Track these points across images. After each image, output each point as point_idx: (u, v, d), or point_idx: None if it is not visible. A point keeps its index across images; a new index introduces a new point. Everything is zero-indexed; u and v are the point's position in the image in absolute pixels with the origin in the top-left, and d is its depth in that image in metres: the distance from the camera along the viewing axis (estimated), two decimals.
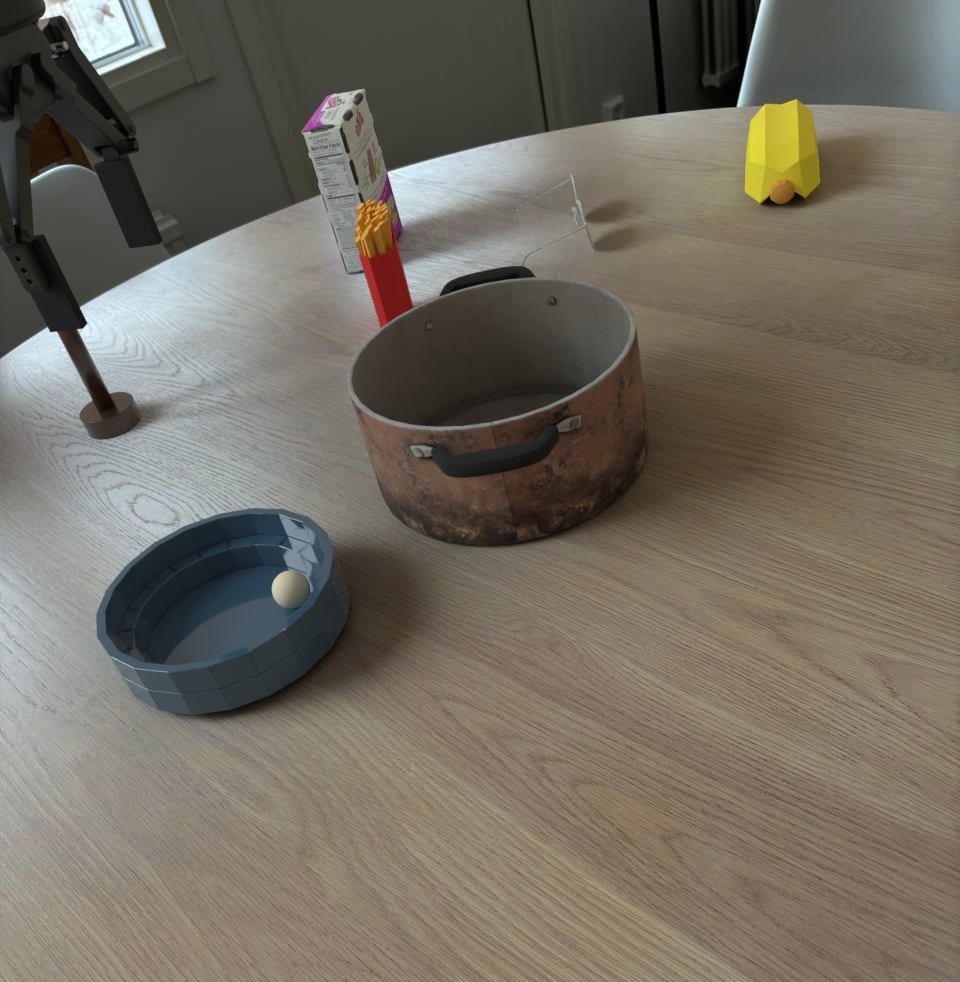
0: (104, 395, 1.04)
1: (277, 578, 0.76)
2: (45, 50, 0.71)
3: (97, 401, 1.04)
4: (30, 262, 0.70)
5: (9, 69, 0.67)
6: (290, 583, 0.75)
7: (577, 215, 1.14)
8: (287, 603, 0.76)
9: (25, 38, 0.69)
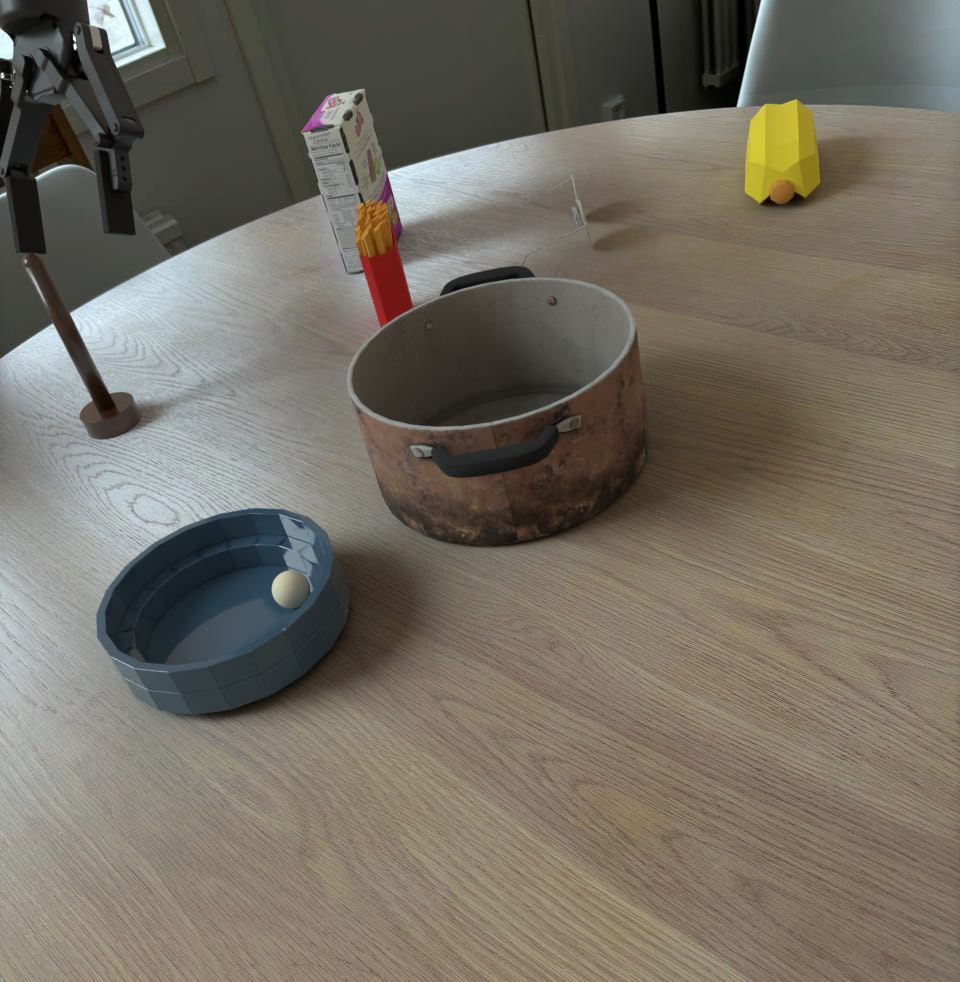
0: (104, 395, 1.04)
1: (277, 578, 0.76)
2: None
3: (97, 401, 1.04)
4: (129, 164, 0.89)
5: None
6: (290, 583, 0.75)
7: (577, 215, 1.14)
8: (287, 603, 0.76)
9: None
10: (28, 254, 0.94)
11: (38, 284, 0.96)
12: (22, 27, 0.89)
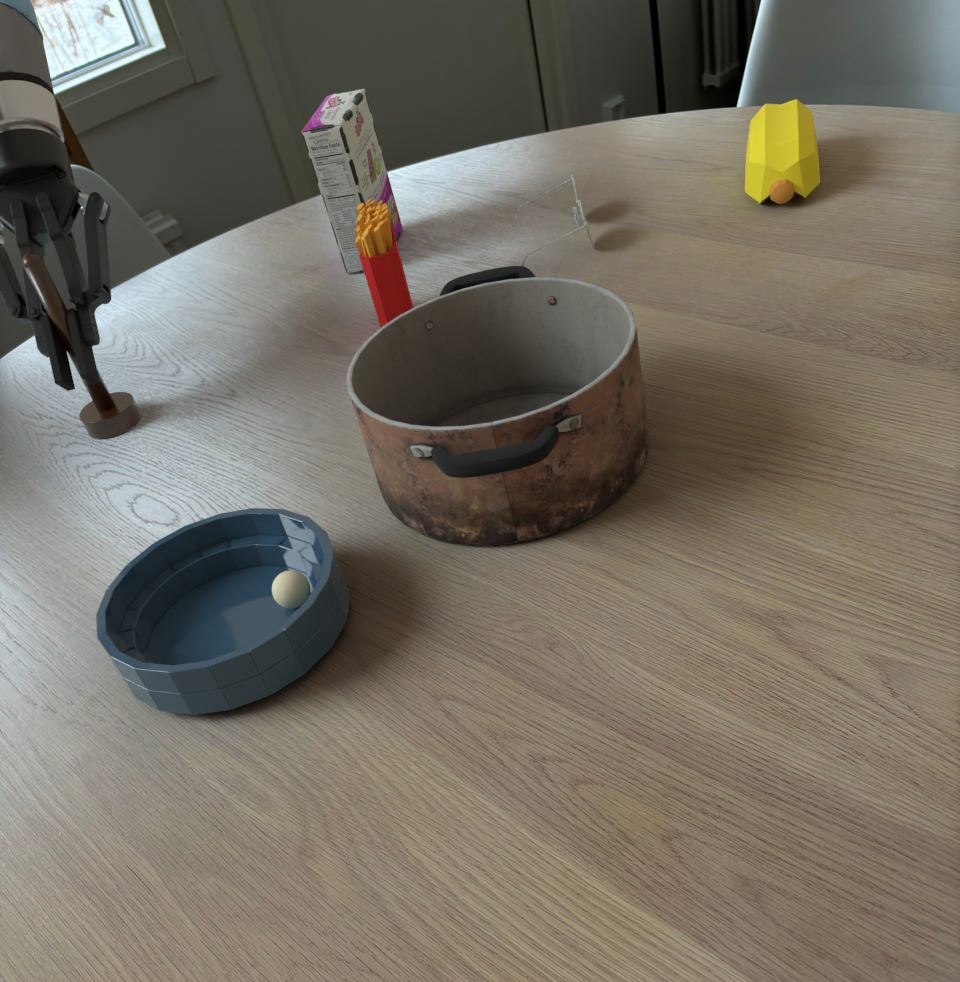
0: (104, 395, 1.04)
1: (277, 578, 0.76)
2: None
3: (97, 401, 1.04)
4: (95, 323, 1.00)
5: None
6: (290, 583, 0.75)
7: (577, 215, 1.14)
8: (287, 603, 0.76)
9: None
10: (27, 254, 0.94)
11: (38, 284, 0.96)
12: (20, 177, 0.98)
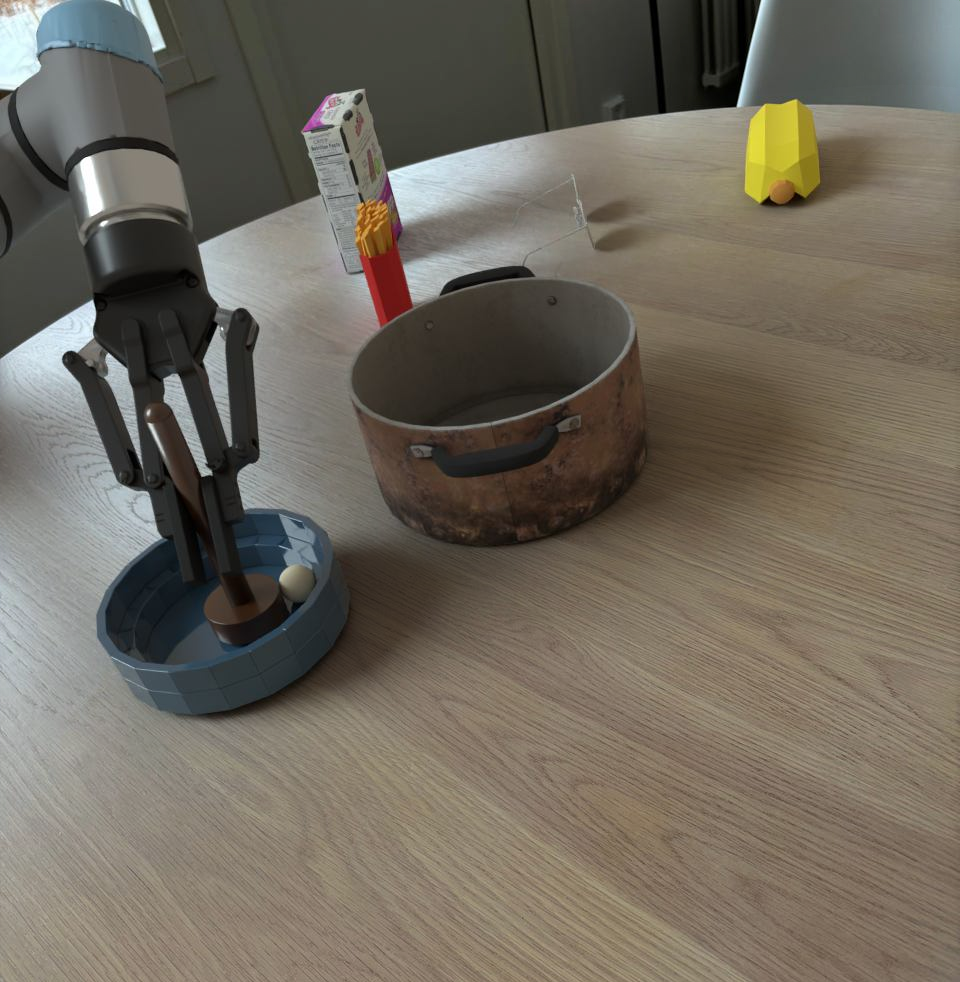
0: (241, 586, 0.74)
1: (290, 567, 0.77)
2: None
3: (231, 593, 0.74)
4: (238, 492, 0.70)
5: None
6: (302, 574, 0.76)
7: (578, 215, 1.14)
8: (292, 591, 0.76)
9: None
10: (153, 404, 0.65)
11: (164, 445, 0.66)
12: (135, 286, 0.69)
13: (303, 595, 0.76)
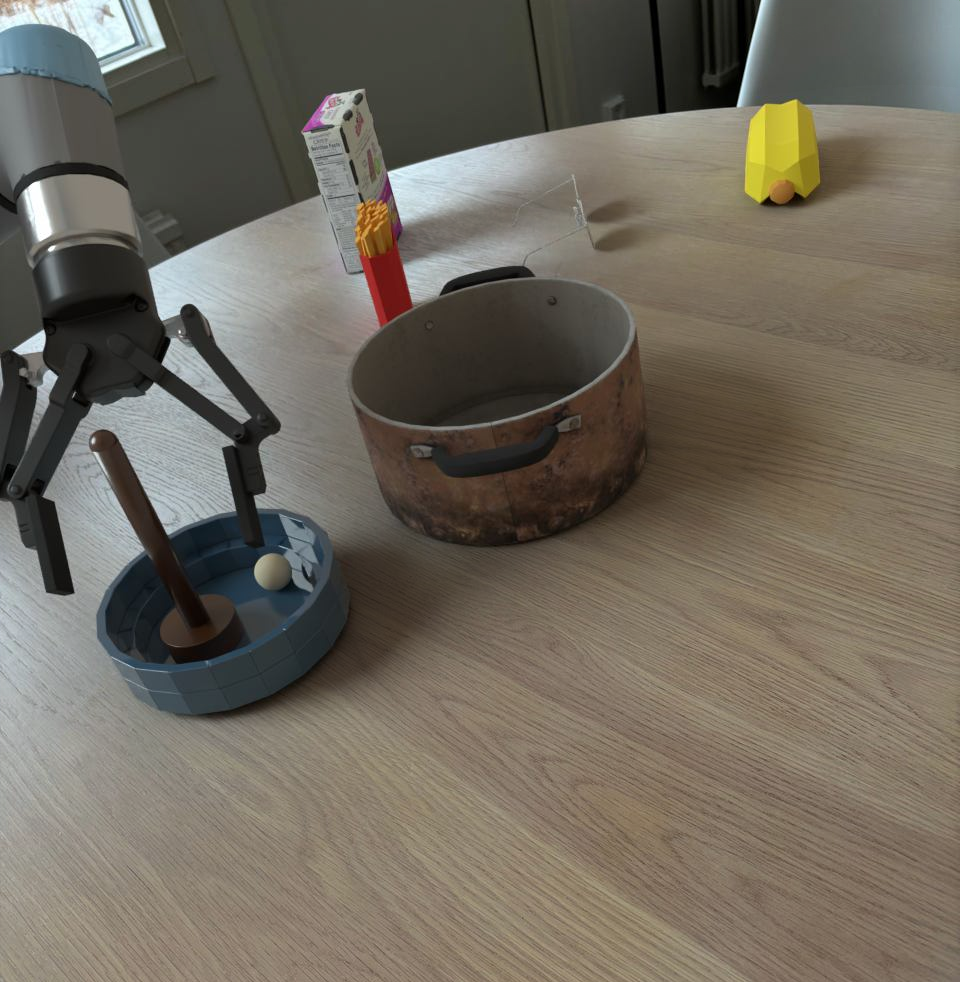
0: (195, 609, 0.74)
1: None
2: None
3: (185, 616, 0.74)
4: (259, 462, 0.70)
5: None
6: None
7: (578, 215, 1.14)
8: (254, 573, 0.78)
9: None
10: (97, 433, 0.65)
11: (110, 474, 0.66)
12: (83, 311, 0.69)
13: (258, 564, 0.78)
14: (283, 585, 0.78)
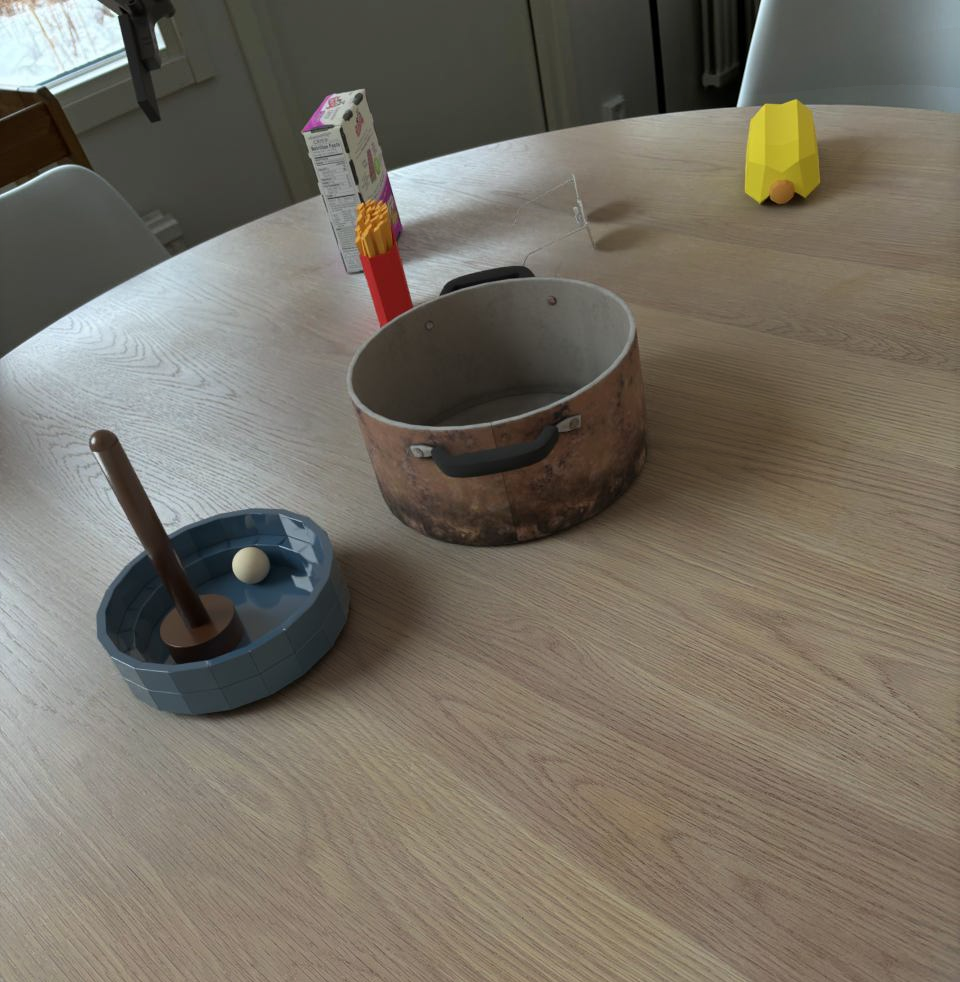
0: (195, 609, 0.74)
1: (267, 574, 0.80)
2: None
3: (185, 616, 0.74)
4: (155, 41, 0.76)
5: None
6: None
7: (578, 215, 1.14)
8: None
9: None
10: (97, 433, 0.65)
11: (110, 474, 0.66)
12: None
13: None
14: (244, 559, 0.79)
